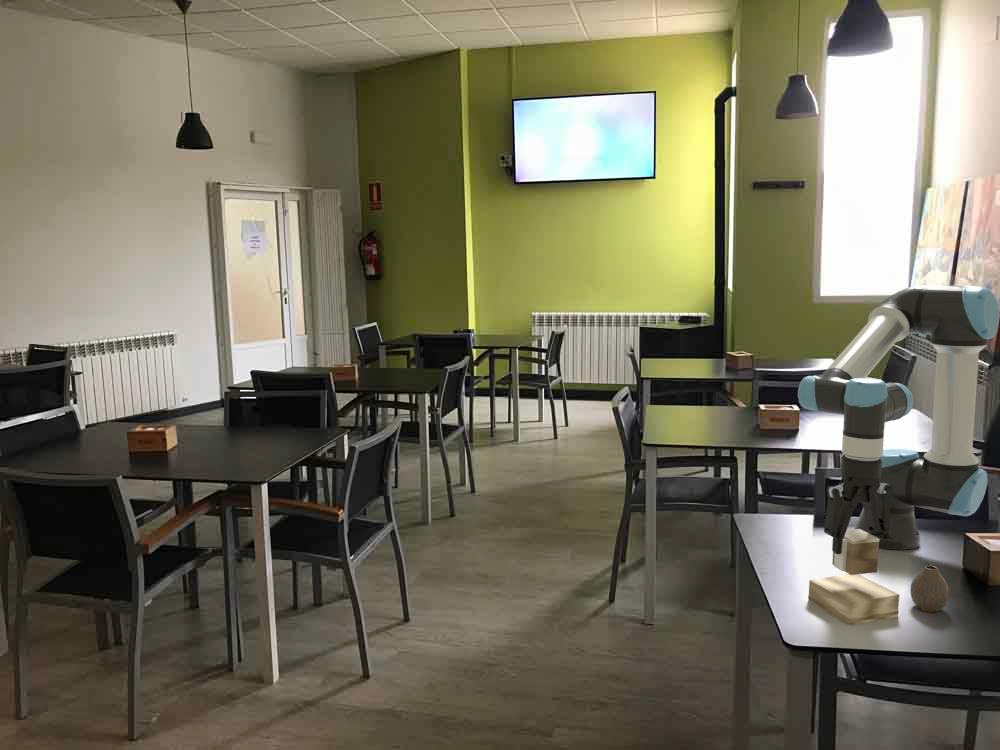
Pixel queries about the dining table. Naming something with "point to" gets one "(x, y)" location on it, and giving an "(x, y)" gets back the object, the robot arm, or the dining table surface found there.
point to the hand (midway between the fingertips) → (854, 566)
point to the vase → (929, 590)
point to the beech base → (853, 598)
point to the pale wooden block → (861, 552)
